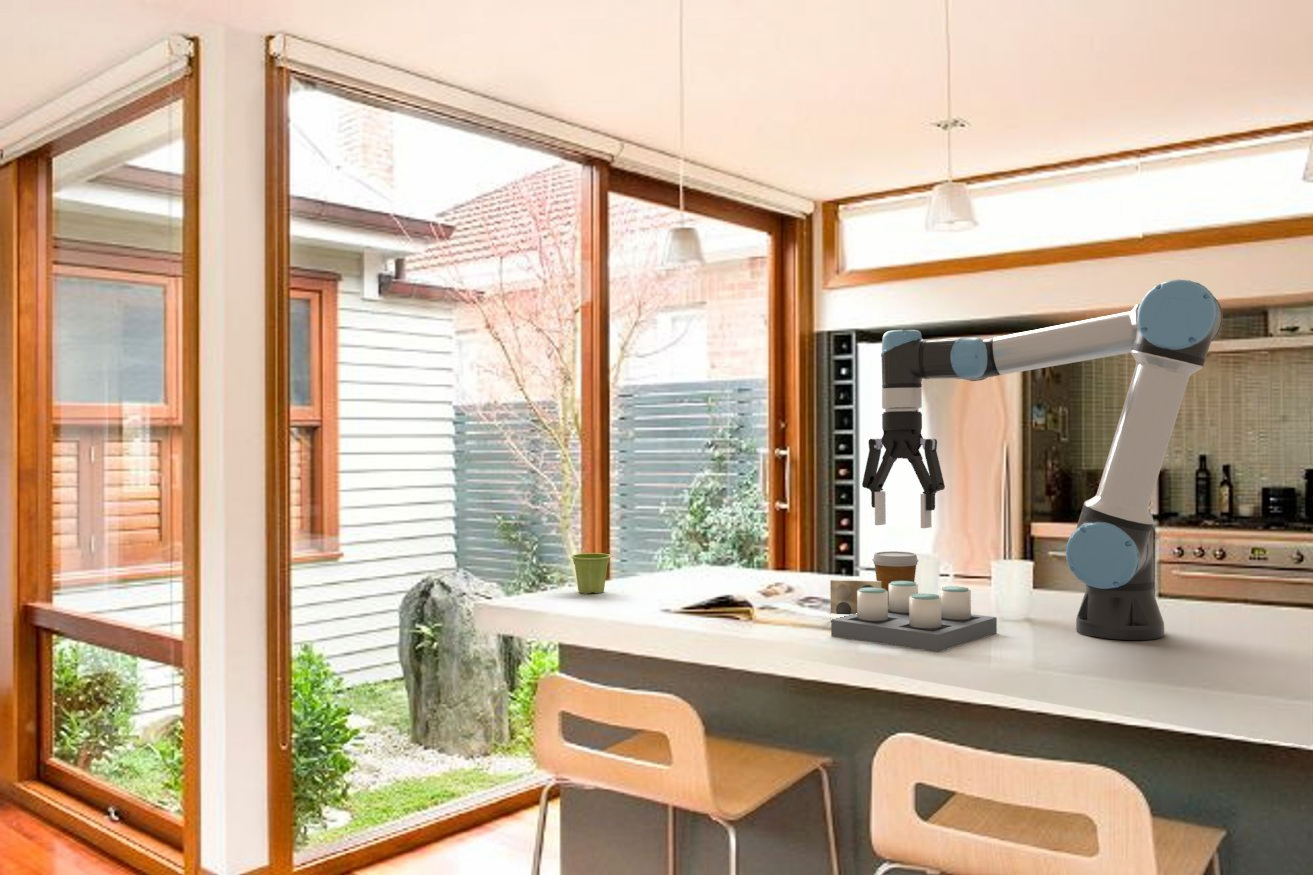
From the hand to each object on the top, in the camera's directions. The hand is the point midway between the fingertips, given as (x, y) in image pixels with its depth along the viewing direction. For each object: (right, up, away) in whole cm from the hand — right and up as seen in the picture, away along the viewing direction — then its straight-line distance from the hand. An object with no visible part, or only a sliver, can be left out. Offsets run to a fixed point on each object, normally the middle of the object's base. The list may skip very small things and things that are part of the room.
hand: (902, 526), depth 210 cm
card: (-8, -19, +7) cm, 22 cm away
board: (0, -20, -8) cm, 21 cm away
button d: (-7, -17, -8) cm, 20 cm away
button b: (0, -16, 0) cm, 16 cm away
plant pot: (-63, -20, +47) cm, 81 cm away
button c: (+1, -17, -15) cm, 23 cm away
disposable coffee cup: (+3, -19, +18) cm, 27 cm away
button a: (+8, -16, -7) cm, 20 cm away
